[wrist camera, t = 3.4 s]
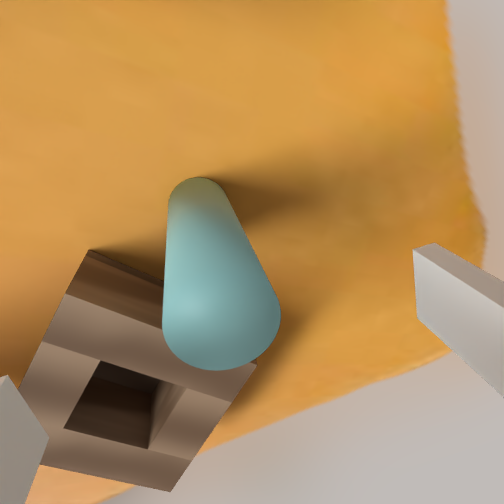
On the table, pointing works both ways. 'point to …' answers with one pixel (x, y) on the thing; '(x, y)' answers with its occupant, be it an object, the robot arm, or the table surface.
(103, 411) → the bore block
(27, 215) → the table surface
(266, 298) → the dowel
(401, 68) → the table surface
